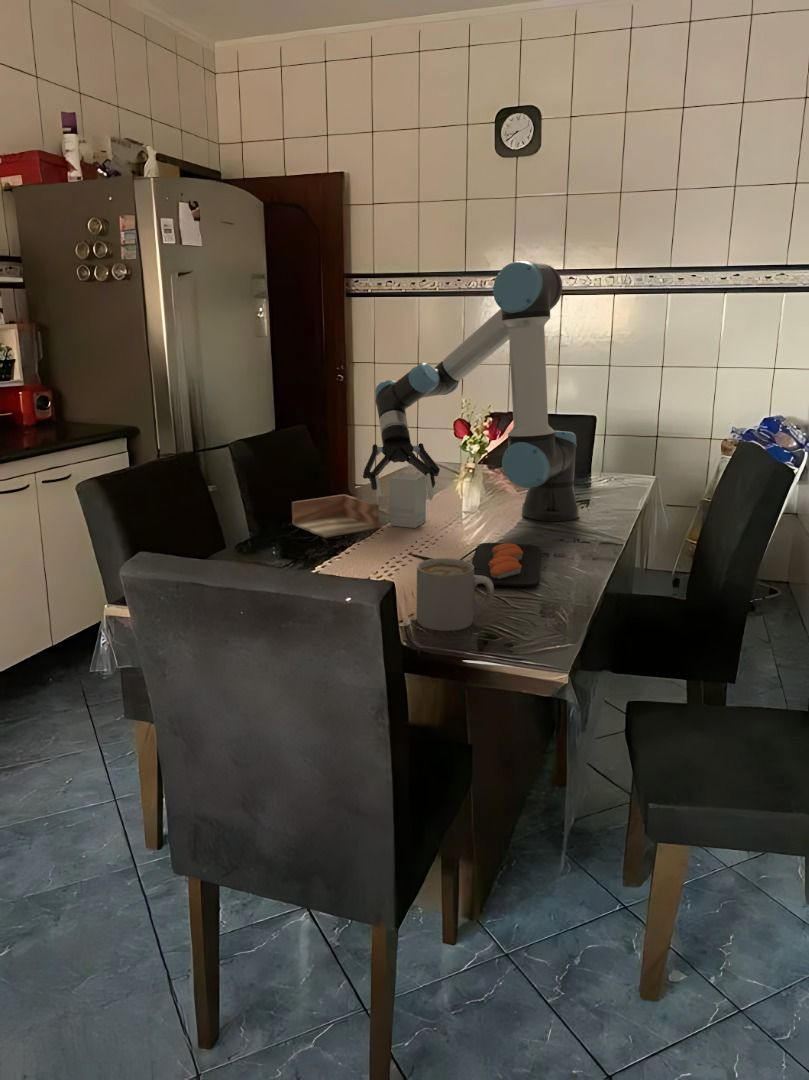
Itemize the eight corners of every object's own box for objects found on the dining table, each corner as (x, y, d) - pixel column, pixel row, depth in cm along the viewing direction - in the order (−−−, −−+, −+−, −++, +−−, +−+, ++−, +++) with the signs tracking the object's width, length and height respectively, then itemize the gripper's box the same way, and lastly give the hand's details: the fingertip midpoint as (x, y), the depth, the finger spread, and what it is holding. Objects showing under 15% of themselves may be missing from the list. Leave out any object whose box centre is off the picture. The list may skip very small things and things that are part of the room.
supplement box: (426, 522, 210) (427, 474, 206) (415, 528, 203) (415, 479, 200) (401, 519, 213) (401, 472, 209) (388, 525, 206) (388, 477, 203)
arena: (378, 528, 204) (378, 505, 202) (324, 537, 195) (324, 513, 193) (344, 515, 216) (344, 494, 214) (292, 524, 207) (291, 501, 205)
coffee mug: (411, 628, 138) (411, 572, 135) (422, 608, 148) (423, 556, 145) (488, 634, 135) (490, 578, 133) (495, 614, 145) (497, 561, 142)
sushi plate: (539, 594, 157) (540, 575, 156) (388, 585, 162) (388, 567, 161) (540, 552, 184) (541, 536, 183) (412, 546, 189) (412, 531, 188)
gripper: (437, 439, 222) (449, 504, 212) (347, 441, 217) (356, 507, 207) (442, 422, 216) (455, 488, 206) (350, 424, 211) (358, 492, 201)
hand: (405, 498), depth 206 cm, fingers open, 13 cm apart
